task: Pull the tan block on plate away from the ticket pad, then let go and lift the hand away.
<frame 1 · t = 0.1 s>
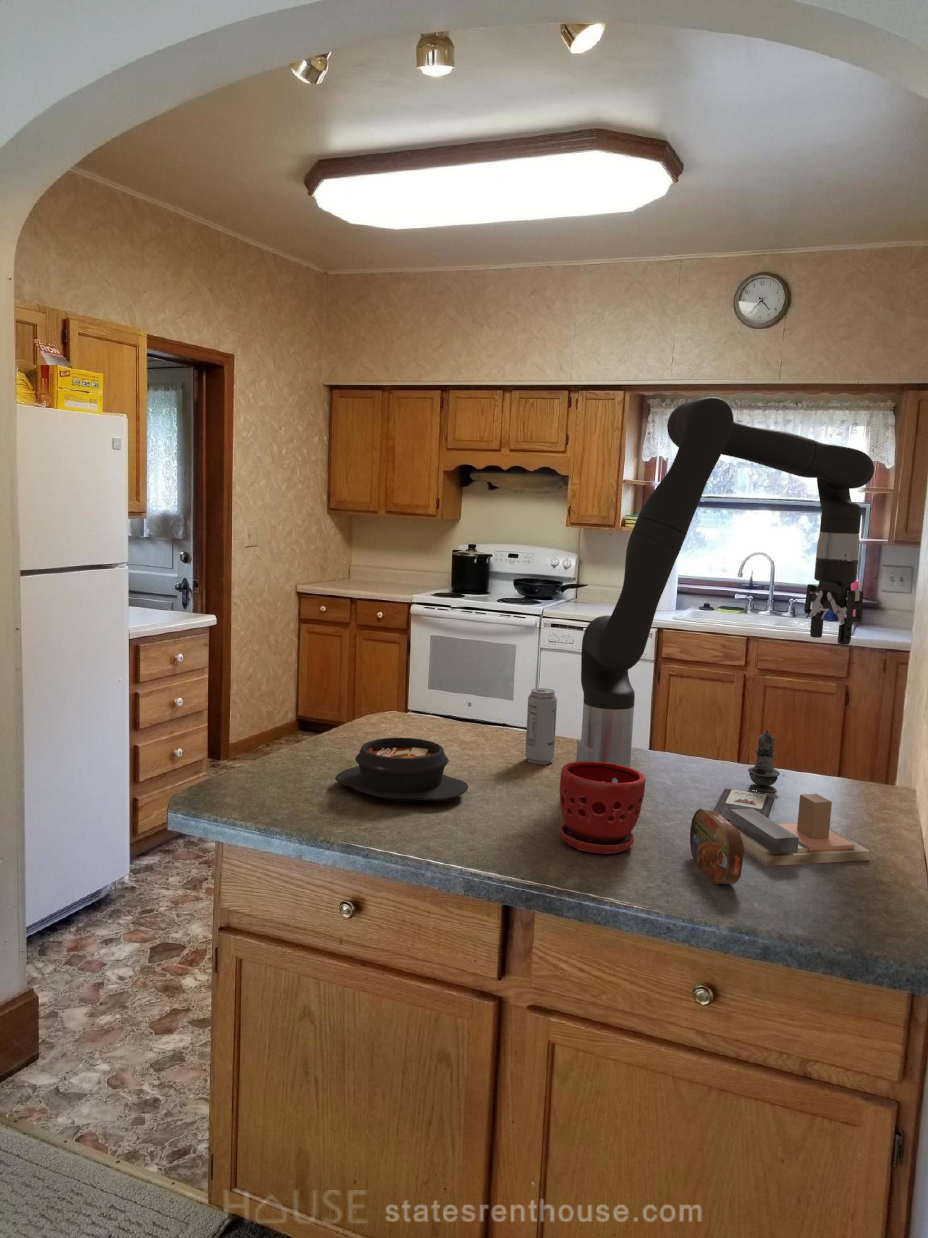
hand: (829, 640, 172), 29 cm above the counter, tool pointing down, fingers open, 8 cm apart
casserole: (401, 793, 163), on the counter
plant pot: (598, 845, 141), on the counter
stone finial: (762, 790, 173), on the counter
tan block on plate: (814, 818, 142), point 5 cm above the counter, slide at 0.0 cm
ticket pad: (794, 848, 142), on the counter
energy drink can: (539, 761, 186), on the counter
chocolate bar: (742, 812, 161), on the counter
tin: (713, 874, 131), on the counter
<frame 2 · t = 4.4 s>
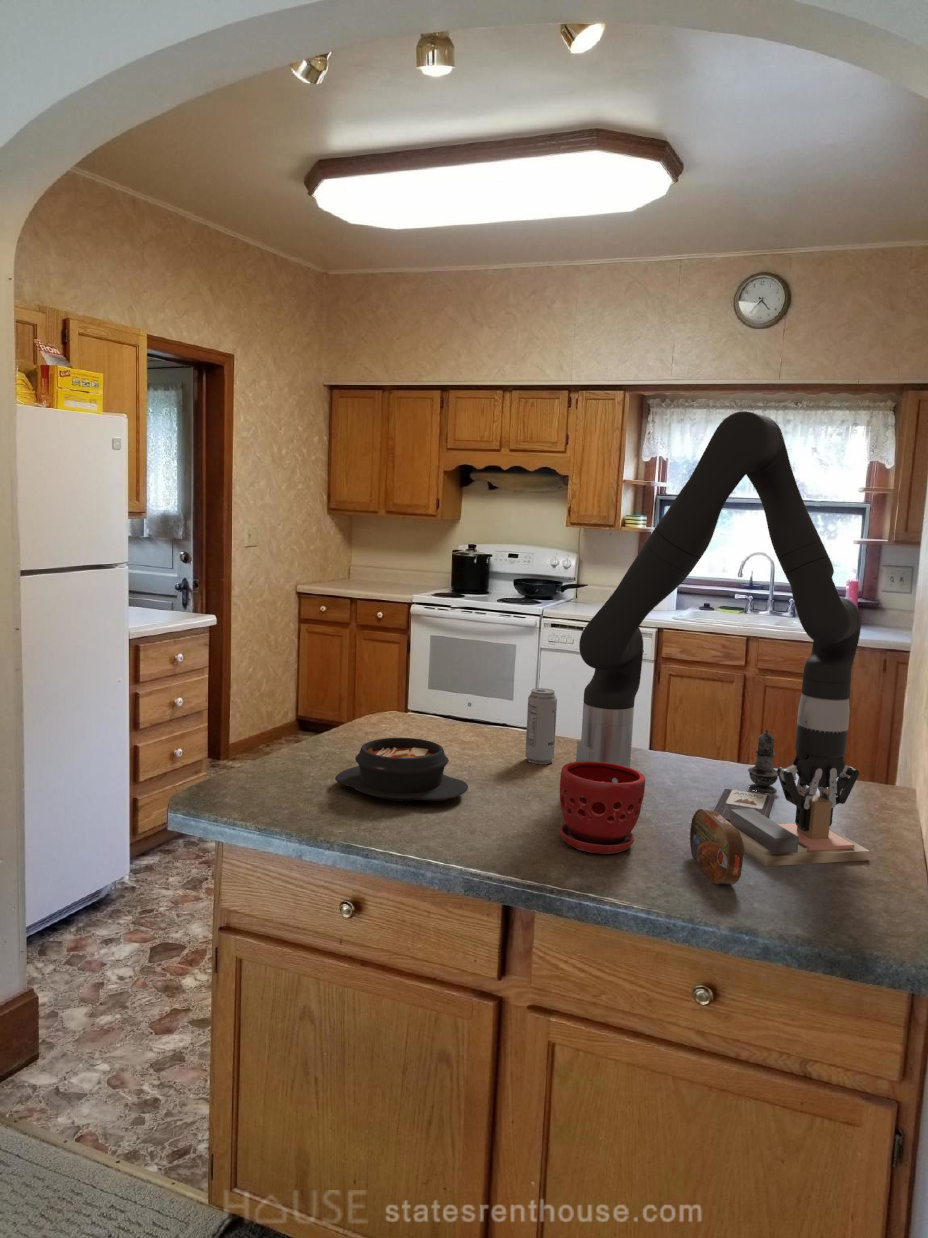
hand: (813, 828, 142), 3 cm above the counter, tool pointing down, fingers closed on tan block on plate, 3 cm apart
tan block on plate: (813, 818, 142), point 5 cm above the counter, slide at 0.0 cm, touching gripper
everything else where it was.
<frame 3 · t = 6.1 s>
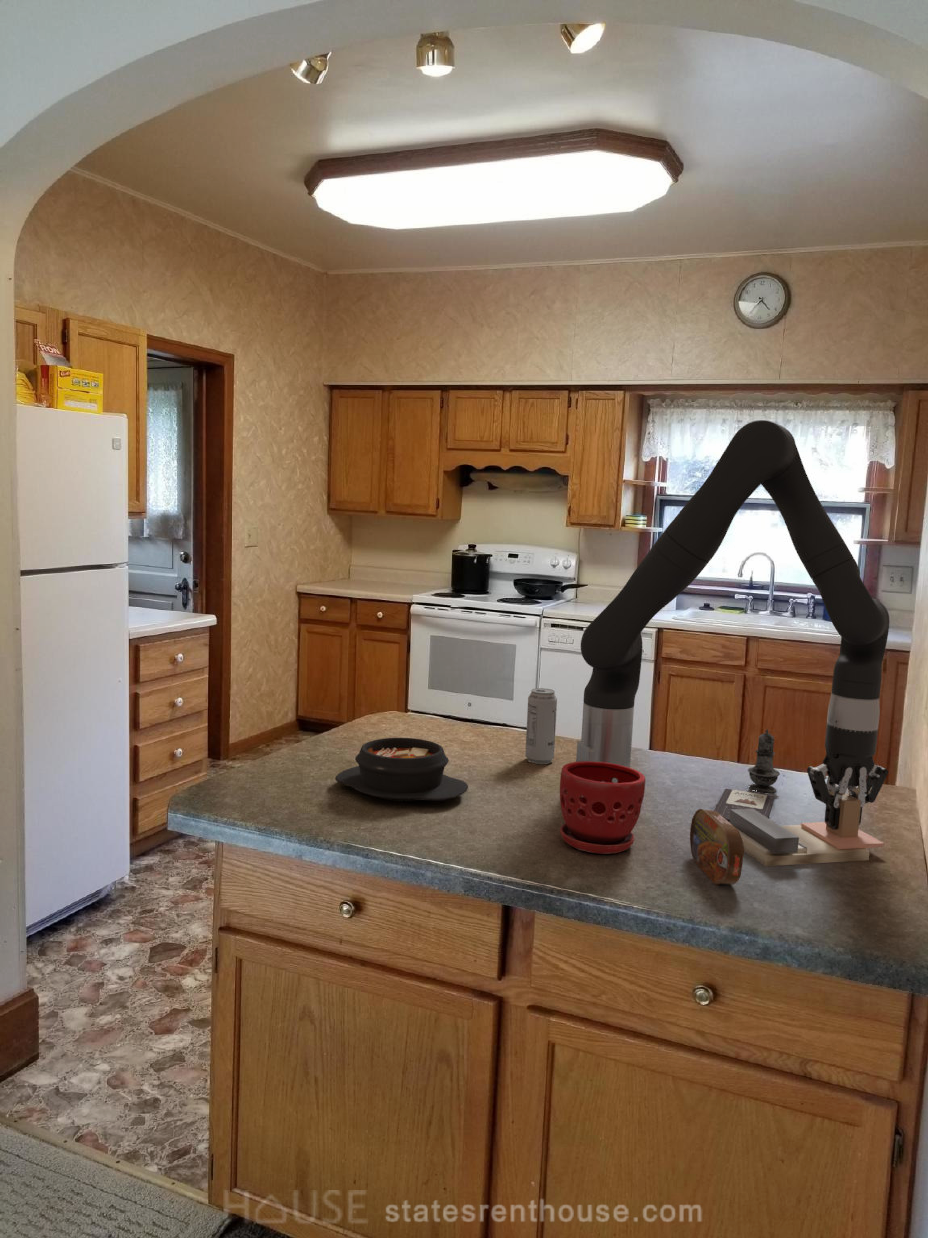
hand: (842, 827, 144), 3 cm above the counter, tool pointing down, fingers closed on tan block on plate, 3 cm apart
tan block on plate: (843, 816, 143), point 5 cm above the counter, slide at 5.3 cm, touching gripper
everything else where it was.
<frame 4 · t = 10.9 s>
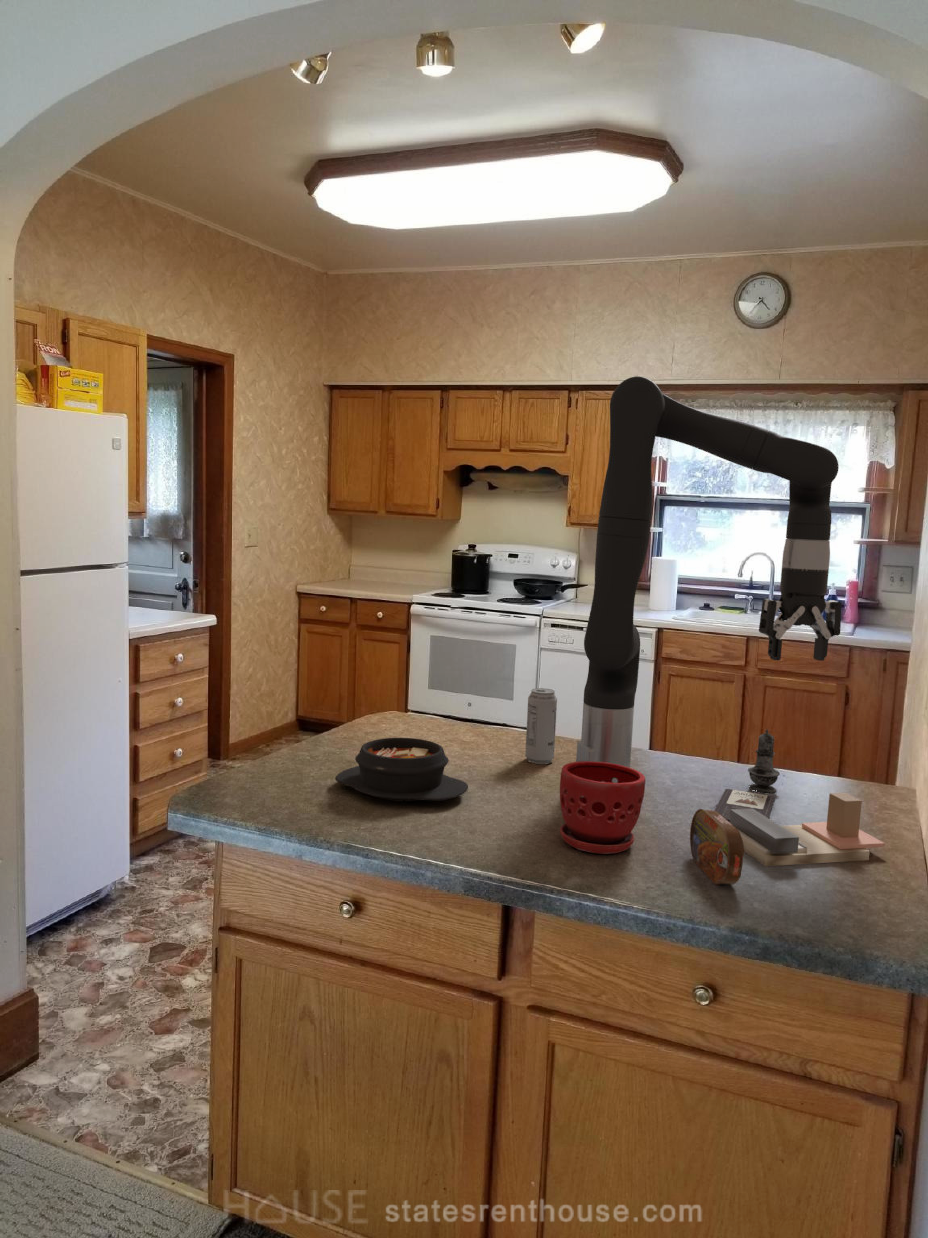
hand: (797, 659, 154), 28 cm above the counter, tool pointing down, fingers open, 8 cm apart
tan block on plate: (843, 816, 143), point 5 cm above the counter, slide at 5.4 cm
everything else where it was.
at the end: tan block on plate slide at 5.4 cm; the gripper is holding nothing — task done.
